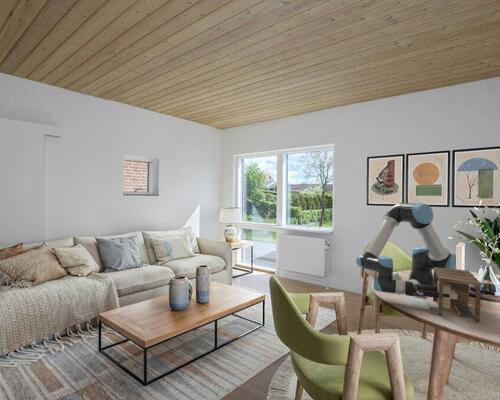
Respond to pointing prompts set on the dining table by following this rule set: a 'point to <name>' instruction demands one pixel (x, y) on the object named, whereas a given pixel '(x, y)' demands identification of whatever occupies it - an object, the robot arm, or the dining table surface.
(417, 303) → the pad
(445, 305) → the maple block
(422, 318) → the dining table surface
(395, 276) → the grey rock
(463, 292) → the small wooden table
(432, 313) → the dining table surface
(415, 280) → the ceramic mug
